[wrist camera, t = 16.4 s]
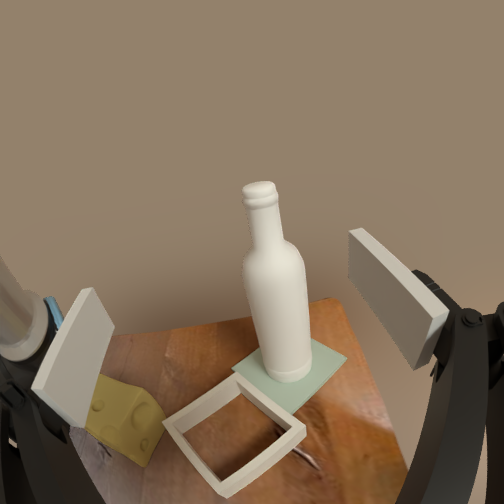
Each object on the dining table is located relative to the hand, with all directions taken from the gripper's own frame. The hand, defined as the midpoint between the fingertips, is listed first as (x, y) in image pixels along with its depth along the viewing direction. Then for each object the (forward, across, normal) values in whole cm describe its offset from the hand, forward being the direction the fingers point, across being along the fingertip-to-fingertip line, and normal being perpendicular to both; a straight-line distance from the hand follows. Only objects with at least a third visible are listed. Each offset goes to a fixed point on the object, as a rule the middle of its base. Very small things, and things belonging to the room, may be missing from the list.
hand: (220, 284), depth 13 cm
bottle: (+17, +5, -30) cm, 35 cm away
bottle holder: (+6, -6, -31) cm, 32 cm away
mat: (+17, +5, -31) cm, 36 cm away
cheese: (+8, -23, -31) cm, 39 cm away
